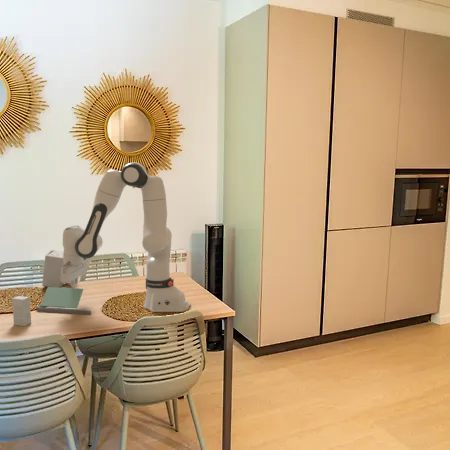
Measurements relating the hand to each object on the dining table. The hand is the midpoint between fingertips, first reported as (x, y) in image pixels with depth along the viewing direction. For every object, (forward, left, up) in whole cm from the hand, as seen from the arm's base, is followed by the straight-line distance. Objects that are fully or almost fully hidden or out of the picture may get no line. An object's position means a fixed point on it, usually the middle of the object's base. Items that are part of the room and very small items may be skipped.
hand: (74, 287), depth 226 cm
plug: (+8, -4, -10) cm, 13 cm away
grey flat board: (+2, +4, -10) cm, 11 cm away
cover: (+4, +4, -4) cm, 7 cm away
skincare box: (+12, +26, -10) cm, 30 cm away
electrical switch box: (+24, -33, -10) cm, 42 cm away
